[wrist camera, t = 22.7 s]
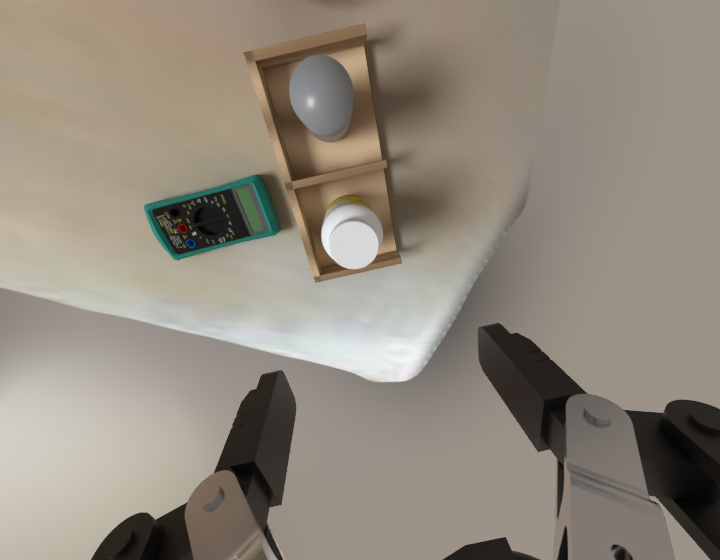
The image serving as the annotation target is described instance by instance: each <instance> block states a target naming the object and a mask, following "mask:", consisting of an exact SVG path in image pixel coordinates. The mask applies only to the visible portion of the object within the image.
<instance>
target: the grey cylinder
mask: <svg viewBox="0 0 720 560" xmlns="http://www.w3.org/2000/svg"><path fill="white" fill-rule="evenodd" d="M289 94H290V100H291V104H292V107H293V109H294V111H295V113H296V114H297V116H298V117H299V119H300V120H301V121H302V122H303V123H304V124H305V125H306V127H307V128H308V129H309V130H310V131H311V132H312V134H313V135H314V136H315V137H316V138H318V139H319V140H321V141H323V142H328V143H332V142H336V141H339V140H341V139H342V138H343V137H344V136H345V135H346V134H347V132H348V130H349V128H350V125H351V118H352V110H353V101H354V89H353V84H352V81H351V78H350V76H349V74H348V72H347V70H346V69H345V68H344V67H343V65H342V64H341V63H339V62H338V61H337V60H335V59H334V58H332V57H329V56H326V55H313V56H310V57H308V58H306V59H304V60H303V61H302V62H300V63H299V65H298V66H297V67H296V69H295V70H294V72H293V74H292V77H291V80H290V87H289Z"/></svg>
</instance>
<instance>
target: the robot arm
mask: <svg viewBox="0 0 720 560" xmlns="http://www.w3.org/2000/svg"><path fill="white" fill-rule="evenodd" d="M478 351H479V361H480V365H481V367H482V370H483V371H484V373H485V374H486V376H487V377H488V379H489V380H490V382H491V383H492V385H493V386H494V388H495V389H496V391H497V392H498V394H499V395H500V396H501V398H502V399H503V401H504V402H505V404H506V405H507V407H508V408H509V410H510V411H511V413H512V414H513V416H514V417H515V419H516V420H517V422H518V423H519V425H520V426H521V428H522V429H523V430H524V432H525V433H526V435H527V436H528V438H529V439H530V441H531V442H532V444H533V445H534V447H535V448H536V449H537V451H538V452H540V451H544V450H549V449H551V451H552V452H553V454H554V455H555V456H556V458H557V461H556V505H555V506H556V507H555V509H556V510H555V536H554V546H553V560H675V556H674V553H673V548H672V544H671V540H670V536H669V533H668V528H667V524H666V520H665V517H664V514H663V511H662V509H661V507H660V506H659V505H658V503H656V502H653V501H651V500H650V498H649V496H655V497H656V498H658V500H659V501H660V502H661V503H662V504H663V506H664V507H665V508H666V509H667V510H668V511H669V512H670V514H671V515H672V516H673V517H674V518H675V519H676V520H677V521H678V523H679V524H680V525H681V526H682V527H683V528H684V530H685V531H686V532H687V533H688V534H689V535H690V536H691V538H692V539H693V540H694V541H695V542H696V543H697V545H698V546H699V547H700V548H701V549H702V550H703V551H704V552H705V554H706V555H707V556H708V557H709V558H710V559H711V560H720V409H718V408H716V407H713V406H710V405H708V404H704V403H701V402H696V401H691V400H676V401H672V402H670V403H668V404H667V406H666V408H665V410H664V413H655V412H641V411H629V410H623V409H622V408H620V407H619V406H618V405H616V404H615V403H613V402H611V401H609V400H607V399H605V398H602V397H599V396H596V395H591V394H587V393H586V392H585V391H584V390H583V389H582V388H581V387H580V386H579V385H578V384H577V383H576V382H574V381H573V380H572V379H571V378H570V377H569V376H568V375H567V374H566V373H565V372H564V371H563V370H562V369H561V368H560V367H559V366H557V364H556V363H555V362H553V361H552V360H550V358H549V357H548V356H547V355H546V354H545V353H544V352H542V351H541V349H540V348H539V347H538V346H536V344H535V343H533V342H532V341H531V340H530V339H528V338H526V337H524V336H522V335H520V334H518V333H514V334H510V333H509V332H508V331H507V330H506V329H505V328H504V327H503V326H502V325H501V324H499V323H496V324H492V325H487V326H482V327H479V329H478ZM295 415H296V402H295V397H294V395H293V392H292V390H291V388H290V386H289V383H288V381H287V379H286V376H285V374H284V372H283V371H282V370H279V371H275V372H270V373H266V374H263V375H261V377H260V380H259V383H258V386H257V389H255V390H251V391H250V392H249V393H248V395H247V396H246V397H245V399H244V400H243V401H242V402H241V405H240V407H239V410H238V412H237V417H236V418H235V420H234V423H233V425H232V426H233V428H232V429H231V430H230V433H229V436H228V438H227V441H226V443H225V446H224V449H223V451H222V454H221V457H220V459H219V462H218V464H217V467H216V469H215V472H214V474H212V475H210V476H209V477H208V478H206V479H205V480H204V481H202V482H201V483H200V484H199V486H198V487H197V488H196V489H195V490H194V492H193V493H192V495H191V497H190V498H189V500H188V502H187V503H185V504H184V505H182V506H180V507H178V508H176V509H174V510H173V511H171V512H169V513H167V514H165V515H164V516H162V517H160V518H158V519H156V520H155V519H154V518H153V517H152V516H151V515H150V514H148V513H138V514H135V515H133V516H131V517H129V518H127V519H126V520H124V521H123V522H122V523H120V524H119V525H118V526H117V527H116V528H114V529H113V530H112V532H111V533H110V534H109V535H108V536H107V537H106V538H105V539H104V540H103V542H102V543H101V545H100V546H99V548H98V549H97V551H96V552H95V554H94V556H93V557H92V559H91V560H285V558H284V556H283V554H282V551H281V549H280V547H279V545H278V543H277V541H276V539H275V537H274V535H273V533H272V530H271V528H270V526H269V524H268V522H267V518H268V512H269V507H273V506H278V505H281V504H282V497H283V491H284V485H285V479H286V472H287V466H288V459H289V453H290V447H291V440H292V434H293V428H294V422H295ZM443 560H540V559H537V558H535V557H532V556H530V555H527V554H523V553H520V552H515V551H512V550H511V548H510V546H509V544H508V541H507V539H506V537H504V538H499V539H494V540H489V541H484V542H480V543H475V544H470V545H465V546H464V547H462V548H460V549H459V550H457V551H456V552H454V553H453V554H451V555H450V556H448V557H446V558H445V559H443Z"/></svg>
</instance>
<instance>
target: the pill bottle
mask: <svg viewBox="0 0 720 560" xmlns="http://www.w3.org/2000/svg"><path fill="white" fill-rule="evenodd" d="M321 238H322V243H323V246H324V248H325V250H326V252H327V253H328V255H329V256H330V257H331V258H332V259H334V260H335V261H336V263H338V264H339V265H340V266H342V267H344V268H348V269H360V268H363V267H365V266H367V265H369V264H370V263H371V262H372V261H373V260H374V259H375V257H376V256H377V253H378V251H379V249H380V247H381V245H382V241H383V229H382V225H381V223H380V221H379V219H378V217H377V216H376V214H375V213H374V211H373V210H372V208H371V207H370V205H369V204H368V203H367V202H366V201H365V200H364V199H362V198H360V197H358V196H354V195H345V196H341V197H339V198H337V199H335V200H334V201H333V202H332V203H331V204H330V205H329V207H328V208H327V211H326V213H325V217H324V221H323V226H322V231H321Z"/></svg>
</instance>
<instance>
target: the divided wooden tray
mask: <svg viewBox="0 0 720 560" xmlns="http://www.w3.org/2000/svg"><path fill="white" fill-rule="evenodd" d="M366 36H367V32H366V25H365V24H361V25H357V26H352V27H348V28H344V29H340V30H336V31H332V32H327V33H323V34H319V35H315V36H311V37H307V38H302V39H298V40H294V41H290V42H286V43H282V44H277V45H273V46H269V47H265V48H261V49H257V50H252V51H248V52H244V55H245V58H246V61H247V65H248V68H249V71H250V74H251V77H252V81H253V84H254V87H255V90H256V93H257V97H258V100H259V103H260V106H261V109H262V113H263V116H264V119H265V122H266V125H267V129H268V132H269V135H270V138H271V141H272V145H273V148H274V151H275V154H276V158H277V161H278V164H279V167H280V170H281V174H282V177H283V180H284V183H285V186H286V190H287V193H288V196H289V199H290V202H291V206H292V209H293V212H294V215H295V218H296V222H297V225H298V228H299V231H300V234H301V238H302V241H303V244H304V247H305V250H306V254H307V257H308V260H309V263H310V266H311V270H312V273H313V276H314V279H315V282H320V281H325V280H329V279H334V278H338V277H343V276H347V275H352V274H356V273H360V272H365V271H369V270H374V269H378V268H383V267H387V266H392V265H396V264H401V263H402V260H401V257H400V255H399V253H398V252H397V250H396V244H395V238H394V231H393V225H392V219H391V213H390V206H389V200H388V194H387V187H386V181H385V175H384V169H383V168H387V162H386V160H382V156H381V150H380V144H379V137H378V131H377V125H376V118H375V112H374V106H373V100H372V93H371V87H370V81H369V74H368V68H367V62H366V56H365V49H364V44H365V40H366ZM313 55H326V56H329V57H332V58H334V59H335V60H337V61H338V62H339V63H341V64H342V65H343V67H344V68H345V69H346V70H347V72H348V74H349V76H350V78H351V81H352V84H353V89H354V101H353V110H352V118H351V125H350V128H349V130H348V132H347V134H346V135H345V136H344V137H343V138H342V139H341V140H339V141H336V142H332V143H328V142H323V141H321V140H319V139H318V138H316V137H315V136H314V135H313V134H312V132H311V131H310V130H309V129H308V128H307V127H306V125H305V124H304V123H303V122H302V121H301V120H300V119H299V117H298V116H297V114H296V113H295V111H294V109H293V107H292V104H291V100H290V94H289V87H290V80H291V77H292V74H293V72H294V70H295V69H296V67H297V66H298V65H299V63H300V62H302V61H303V60H304V59H306V58H308V57H310V56H313ZM345 195H354V196H358V197H360V198H362V199H364V200H365V201H366V202H367V203H368V204H369V205H370V207H371V208H372V210H373V211H374V213H375V214H376V216H377V217H378V219H379V221H380V223H381V225H382V229H383V241H382V245H381V247H380V249H379V251H378V253H377V256H376V257H375V259H374V260H373V261H372V262H371V263H370V264H369V265H367V266H365V267H363V268H360V269H348V268H344V267H342V266H340V265H339V264H338V263H336V261H335V260H334V259H332V258H331V257H330V256H329V255H328V253H327V252H326V250H325V248H324V246H323V243H322V238H321V231H322V226H323V221H324V217H325V213H326V211H327V208H328V207H329V205H330V204H331V203H332V202H333V201H334V200H335V199H337V198H339V197H341V196H345Z"/></svg>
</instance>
